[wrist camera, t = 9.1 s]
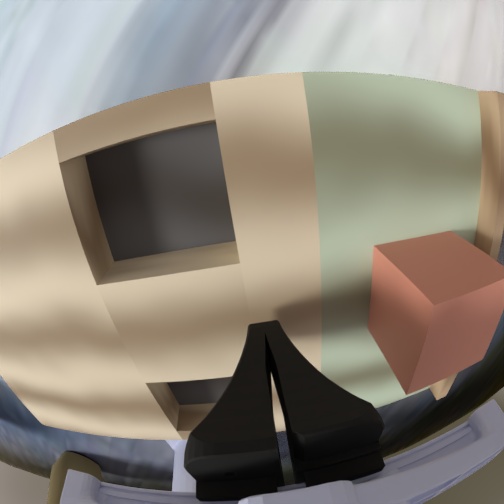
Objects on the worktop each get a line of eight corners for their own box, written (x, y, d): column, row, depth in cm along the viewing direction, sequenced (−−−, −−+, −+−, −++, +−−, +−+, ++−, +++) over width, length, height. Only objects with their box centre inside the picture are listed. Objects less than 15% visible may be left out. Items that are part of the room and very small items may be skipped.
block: (437, 307, 14) (482, 359, 10) (367, 328, 14) (406, 395, 10) (450, 230, 12) (514, 273, 8) (373, 245, 12) (434, 305, 8)
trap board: (423, 361, 21) (445, 395, 17) (51, 403, 21) (38, 435, 17) (455, 93, 12) (506, 94, 8) (-52, 202, 12) (-88, 222, 8)
